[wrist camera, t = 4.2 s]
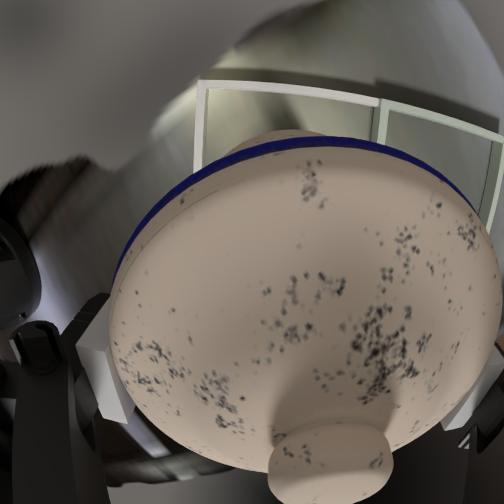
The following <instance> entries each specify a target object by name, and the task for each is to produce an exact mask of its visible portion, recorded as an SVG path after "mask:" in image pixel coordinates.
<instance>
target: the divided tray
mask: <svg viewBox="0 0 504 504" xmlns="http://www.w3.org/2000/svg"><path fill="white" fill-rule="evenodd" d="M209 89H224V90H247V91H262V92H275V93H285V94H295V95H304V96H312V97H319V98H326V99H333V100H339V101H345V102H351V103H356V104H362V105H367V106H372V107H374V115H373V124H372V133H371V142H376V143H379V144H382V145H385V139H386V131H387V122H388V113H389V110H391V111H395V112H399V113H404V114H408V115H412V116H415V117H419V118H423V119H427V120H430V121H434V122H437V123H441V124H444V125H447V126H451V127H454V128H457V129H460V130H463V131H466V132H469V133H472V134H475V135H478V136H481V137H484V138H486V139H489V140H492V141H493V143H492V150H491V157H490V163H489V169H488V174H487V180H486V185H485V189H484V194H483V199H482V203H481V207H480V211H479V215H478V216H479V217H480V219H481V221H482V223H483V225H484V227H485V228H486V230H487V232H488V234H489V232H490V228H491V225H492V221H493V217H494V213H495V209H496V205H497V201H498V196H499V192H500V187H501V182H502V177H503V171H504V136H501V135H499V134H496V133H494V132H491V131H489V130H486V129H483V128H481V127H478V126H475V125H473V124H470V123H467V122H464V121H461V120H458V119H455V118H452V117H449V116H446V115H442V114H439V113H436V112H432V111H429V110H426V109H422V108H418V107H415V106H411V105H407V104H403V103H399V102H395V101H391V100H386V99H378V98H373V97H369V96H364V95H358V94H353V93H347V92H342V91H336V90H329V89H322V88H315V87H308V86H299V85H290V84H280V83H269V82H254V81H235V80H198V86H197V102H196V120H195V141H194V170H193V173H195V172H197V171H199V170H200V169H202V168H204V167H205V146H206V126H207V108H208V92H209Z"/></svg>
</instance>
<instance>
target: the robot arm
mask: <svg viewBox="0 0 504 504" xmlns="http://www.w3.org/2000/svg"><path fill="white" fill-rule="evenodd" d="M110 295H111V294H108V293H101V292H100V293H99V294H97V295H96V296H94V297H92V298H91V299H89V300H88V301H87V302H86V303H85V305H84V306H83V307H82V308H81V310H80V312H78V313H77V315H76V316H75V317H74V320H72V321H71V322H70V324H69V325H68V326H67V327H66V329H65V330H64V331H63V333H62V334H61V335H60V334H59V331H58V328H57V327H56V326H55V325H54V324H53V323H51V322H48V321H41V320H36V321H32V322H28V323H26V324H24V325H22V326H20V327H18V328H17V329H16V330H15V331H14V332H13V333H12V335H11V337H10V339H9V341H10V344H11V346H12V348H13V351H14V353H15V355H16V357H17V359H18V361H19V363H18V362H1V359H0V504H111V503H110V499H109V495H108V490H107V486H106V481H105V476H104V471H103V465H102V460H101V454H100V448H99V441H98V435H97V427H96V424H95V421H94V418H93V416H94V413H95V411H96V409H97V407H99V409H100V412H101V414H102V416H103V418H105V419H109V420H113V421H117V422H121V423H125V424H128V423H129V421H130V418H131V415H132V413H133V410H134V408H135V405H136V404H135V402H134V401H133V399H132V398H131V396H130V395H129V393H128V392H127V390H126V388H125V386H124V384H123V382H122V380H121V378H120V376H119V374H118V371H117V368H116V366H115V363H114V359H113V355H112V351H111V346H110V340H109V331H108V308H109V302H110ZM40 299H41V282H40V277H39V273H38V270H37V266H36V264H35V261H34V259H33V256H32V254H31V252H30V250H29V249H28V247H27V245H26V243H25V242H24V240H23V239H22V238H21V236H20V235H19V234H18V232H17V231H16V230H15V229H14V228H13V227H12V226H11V225H10V224H9V223H7V222H6V221H5V220H3V219H1V218H0V332H2V331H4V330H6V329H8V328H11V327H13V326H15V325H18V324H20V323H22V322H24V321H25V320H27V319H28V318H29V317H30V316H31V315H32V314H33V313H34V311H35V310H36V309H37V308H38V306H39V303H40ZM472 414H473V416H474V418H475V421H476V423H475V424H474V425H473V426H472V427H471V428H470V430H469V431H468V432H467V433H466V435H465V436H464V437H463V438H462V439H461V440H460V441H459V445H458V447H461V446H462V445H463V444H464V443H465V442H466V440H467V439H469V442H468V443H467V445H466V446H465V448H466V449H469V453H468V465H467V475H466V483H465V491H464V497H463V504H504V351H503V350H502V349H501V347H500V346H499V345H498V343H496V340H495V343H494V346H493V349H492V351H491V353H490V356H489V358H488V360H487V362H486V364H485V366H484V368H483V370H482V372H481V373H480V375H479V376H478V378H477V380H476V381H475V383H474V384H473V386H472V387H471V388H470V390H469V391H468V392H467V393H466V395H465V396H464V397H463V398H462V400H461V401H460V402H459V403H458V404H457V405H456V406H455V407H454V408H453V409H452V410H451V411H450V412H449V413H448V414H447V415H446V416H445V417H444V418H443V419H441V420H440V421H441V423H442V426H443V428H444V430H450V429H454V428H459V427H463V426H464V424H465V423H466V422H467V420H468V419H469V418H470V416H471V415H472Z"/></svg>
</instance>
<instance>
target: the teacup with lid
mask: <svg viewBox="0 0 504 504" xmlns="http://www.w3.org/2000/svg"><path fill="white" fill-rule="evenodd" d="M501 312H502V281H501V274H500V268H499V263H498V259H497V255H496V252H495V249H494V246H493V243H492V241H491V239H490V237H489V234H488V232H487V230H486V228H485V227H484V225H483V223H482V221H481V219H480V217H479V216H478V214H477V213H476V211H475V210H474V208H473V206H472V205H471V203H470V202H469V201H468V200H467V198H466V197H465V196H464V195H463V194H462V193H461V192H460V190H459V189H458V188H457V187H456V186H455V185H454V184H452V183H451V182H450V181H449V180H448V179H447V178H446V177H444V176H443V175H442V174H441V173H440V172H438V171H437V170H435V169H434V168H432V167H431V166H429V165H428V164H426V163H424V162H423V161H421V160H419V159H417V158H415V157H413V156H411V155H409V154H407V153H405V152H403V151H400V150H397V149H394V148H391V147H388V146H385V145H382V144H379V143H376V142H371V141H366V140H361V139H355V138H349V137H335V136H326V135H323V134H320V133H316V132H311V131H304V130H279V131H274V132H269V133H265V134H262V135H258V136H256V137H253V138H251V139H249V140H247V141H245V142H243V143H241V144H239V145H238V146H236V147H235V148H233V149H232V150H231V151H230V152H228V153H227V154H226V155H225V156H224V157H223V158H221V159H219V160H216V161H214V162H213V163H211V164H209V165H207V166H205V167H204V168H202V169H200V170H199V171H197V172H195V173H193V174H192V175H190V176H189V177H188V178H186V179H185V180H184V181H182V182H181V183H180V184H178V185H177V186H176V187H174V188H173V189H172V190H170V191H169V192H168V193H167V194H166V195H165V196H164V197H163V198H162V199H161V200H160V201H159V202H158V203H157V204H156V205H155V206H154V207H153V208H152V209H151V210H150V211H149V213H148V214H147V215H146V216H145V217H144V219H143V220H142V221H141V222H140V224H139V225H138V227H137V228H136V230H135V231H134V233H133V234H132V236H131V238H130V239H129V241H128V242H127V244H126V247H125V249H124V251H123V253H122V255H121V257H120V260H119V262H118V265H117V268H116V272H115V275H114V278H113V283H112V289H111V295H110V302H109V308H108V331H109V340H110V346H111V351H112V355H113V359H114V363H115V366H116V368H117V371H118V374H119V376H120V378H121V380H122V382H123V384H124V386H125V388H126V390H127V392H128V393H129V395H130V396H131V398H132V399H133V401H134V402H135V404H136V405H137V406H138V407H139V409H140V410H141V411H142V412H143V414H144V415H145V416H146V417H147V418H148V419H149V420H150V421H151V422H152V423H153V424H154V425H156V426H157V427H158V428H159V429H160V430H161V431H163V432H164V433H165V434H167V435H168V436H169V437H171V438H172V439H174V440H175V441H176V442H178V443H180V444H181V445H183V446H185V447H186V448H188V449H190V450H192V451H194V452H196V453H198V454H200V455H202V456H205V457H207V458H209V459H212V460H215V461H217V462H220V463H223V464H227V465H230V466H234V467H238V468H242V469H247V470H252V471H259V472H265V473H268V483H269V487H270V489H271V491H272V493H273V494H274V495H275V496H276V497H277V498H278V499H279V500H280V501H281V502H283V503H284V504H352V503H355V502H358V501H360V500H363V499H365V498H367V497H369V496H371V495H372V494H374V493H376V492H377V491H378V490H380V489H381V488H382V487H383V486H384V485H385V483H386V482H387V480H388V478H389V476H390V474H391V472H392V469H393V457H392V453H391V452H393V451H394V450H396V449H398V448H400V447H402V446H404V445H405V444H407V443H409V442H411V441H412V440H414V439H416V438H417V437H419V436H420V435H421V434H423V433H425V432H426V431H427V430H429V429H430V428H432V427H433V426H434V425H435V424H437V423H438V422H439V421H440V420H441V419H443V418H444V417H445V416H446V415H447V414H448V413H449V412H450V411H451V410H452V409H453V408H454V407H455V406H456V405H457V404H458V403H459V402H460V401H461V400H462V398H463V397H464V396H465V395H466V393H467V392H468V391H469V390H470V388H471V387H472V386H473V384H474V383H475V381H476V380H477V378H478V376H479V375H480V373H481V372H482V370H483V368H484V366H485V364H486V362H487V360H488V358H489V356H490V353H491V351H492V349H493V346H494V343H495V340H496V336H497V333H498V329H499V324H500V319H501Z"/></svg>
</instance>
